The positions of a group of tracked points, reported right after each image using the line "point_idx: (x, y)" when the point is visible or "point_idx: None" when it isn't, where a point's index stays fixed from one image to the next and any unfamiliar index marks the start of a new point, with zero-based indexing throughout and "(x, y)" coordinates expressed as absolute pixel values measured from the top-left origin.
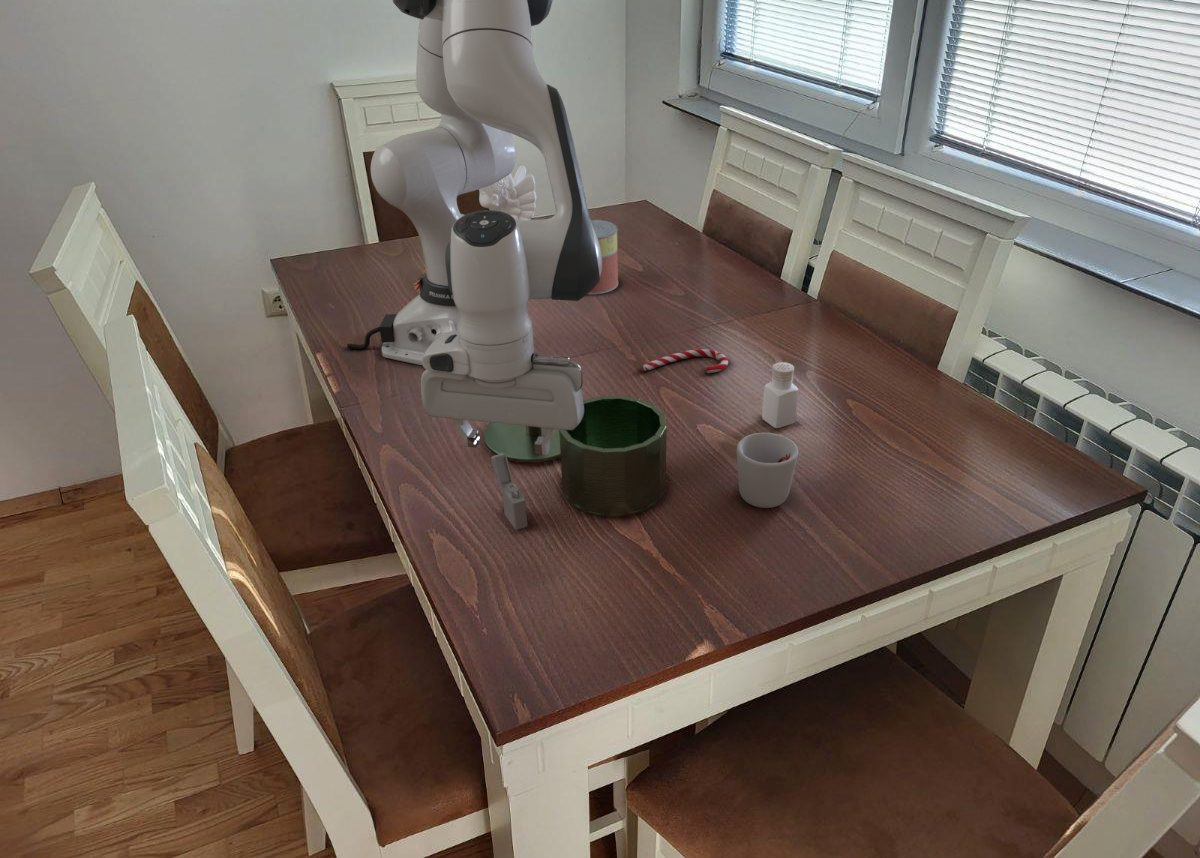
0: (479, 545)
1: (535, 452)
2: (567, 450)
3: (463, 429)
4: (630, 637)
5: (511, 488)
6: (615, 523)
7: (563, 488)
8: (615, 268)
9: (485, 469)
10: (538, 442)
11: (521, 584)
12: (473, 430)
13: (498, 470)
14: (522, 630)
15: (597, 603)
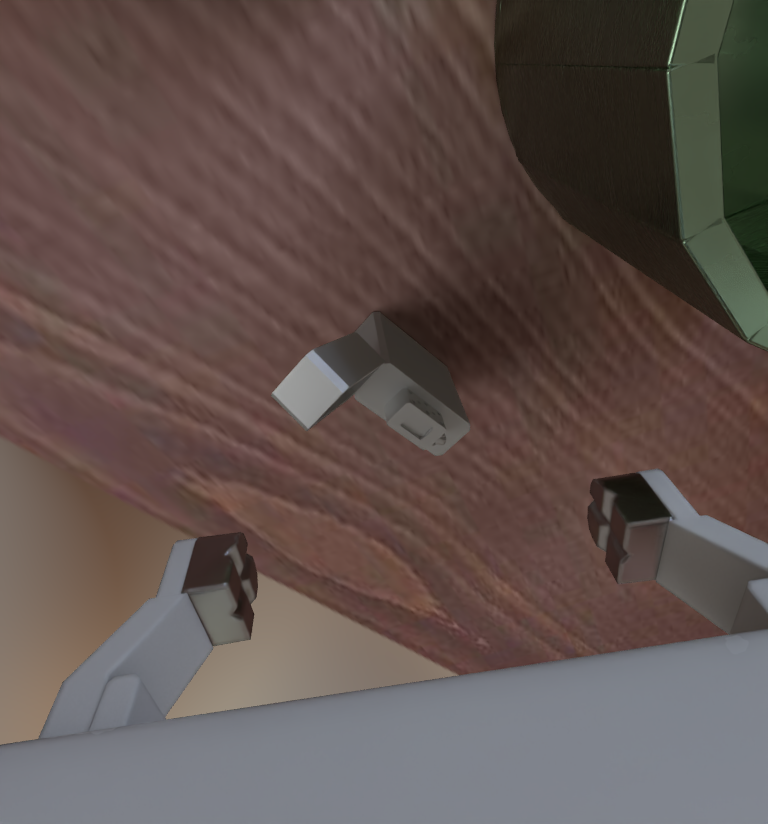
0: (350, 478)
1: (595, 538)
2: (697, 309)
3: (176, 689)
4: None
5: (412, 427)
6: None
7: (529, 170)
8: None
9: (96, 84)
10: (640, 570)
11: (510, 542)
12: (196, 595)
13: (332, 410)
14: (550, 622)
15: None
